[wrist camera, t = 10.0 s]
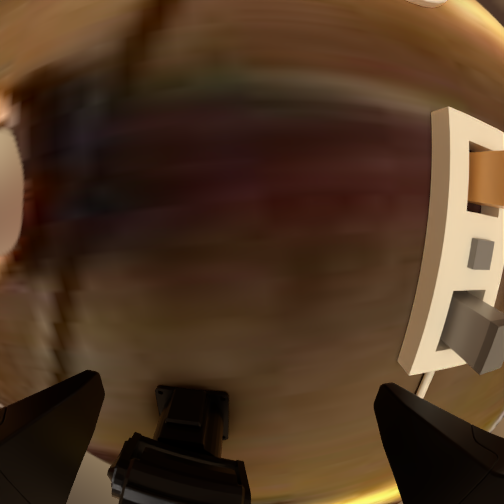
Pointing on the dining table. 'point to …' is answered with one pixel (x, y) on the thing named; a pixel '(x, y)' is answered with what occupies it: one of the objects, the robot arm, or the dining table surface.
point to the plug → (486, 178)
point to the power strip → (452, 243)
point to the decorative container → (428, 3)
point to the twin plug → (475, 332)
